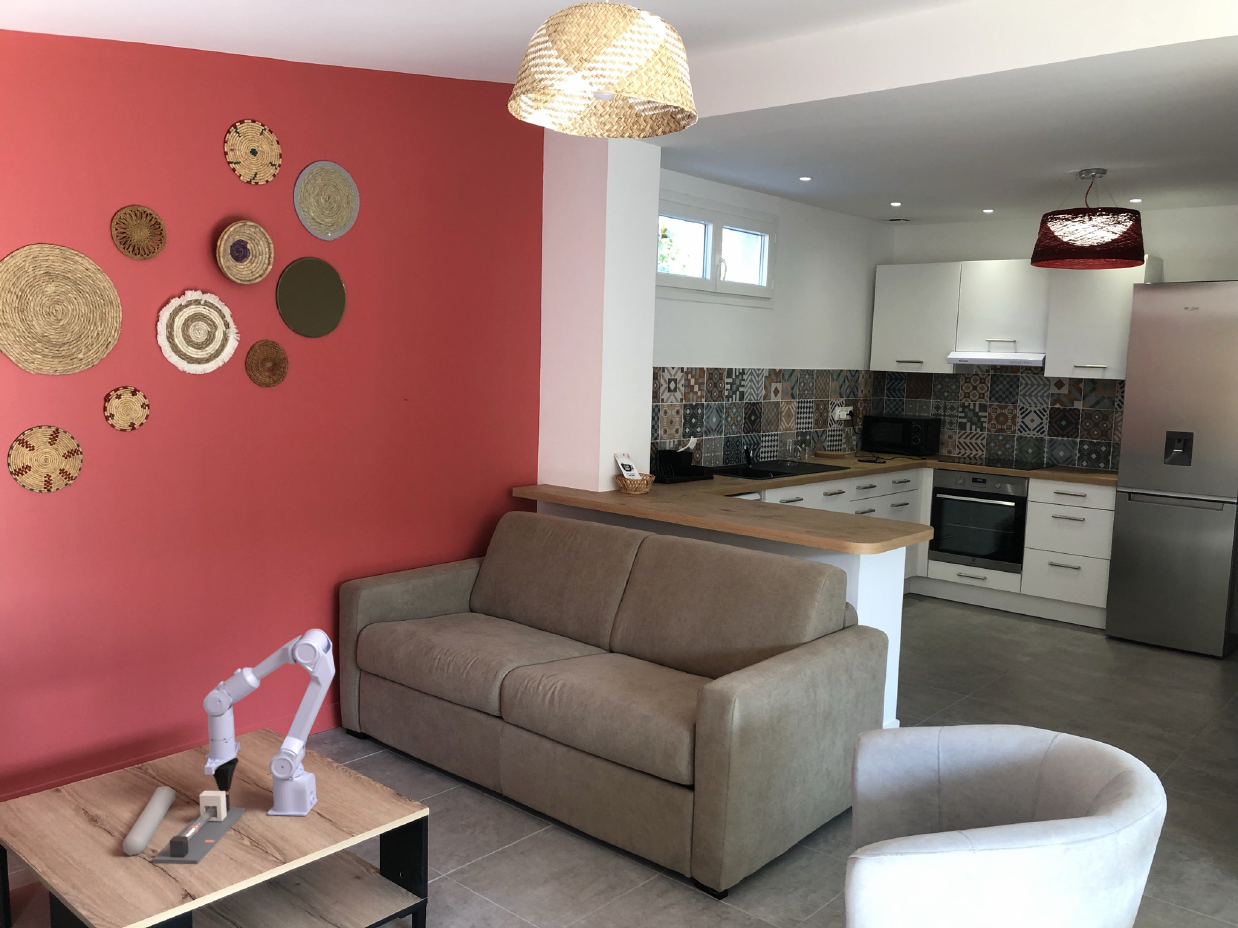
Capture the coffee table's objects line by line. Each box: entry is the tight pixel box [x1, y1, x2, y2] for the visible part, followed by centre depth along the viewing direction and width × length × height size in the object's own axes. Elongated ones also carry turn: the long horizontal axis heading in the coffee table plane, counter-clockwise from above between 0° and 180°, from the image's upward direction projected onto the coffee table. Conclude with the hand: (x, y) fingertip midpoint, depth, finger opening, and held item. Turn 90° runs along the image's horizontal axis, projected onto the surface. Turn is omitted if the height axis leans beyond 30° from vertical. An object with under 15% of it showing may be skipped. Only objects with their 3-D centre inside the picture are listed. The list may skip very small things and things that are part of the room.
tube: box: [122, 785, 176, 856], centre depth 225 cm, size 5×5×25 cm
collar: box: [199, 790, 227, 821], centre depth 228 cm, size 5×2×6 cm, turn 87°
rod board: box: [152, 794, 247, 865], centre depth 222 cm, size 10×24×5 cm, turn 177°
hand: (224, 790), depth 234 cm, fingers closed
